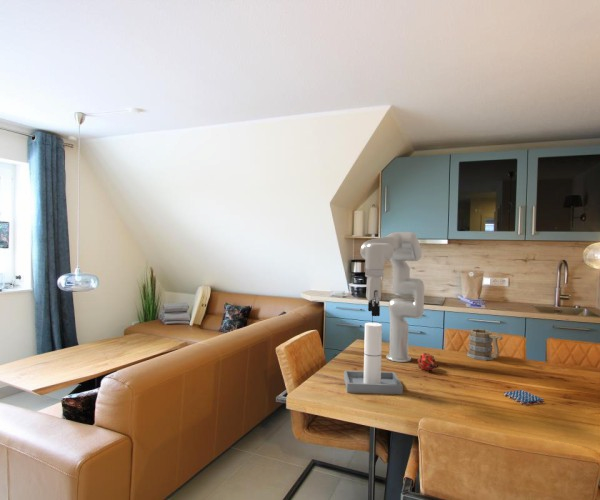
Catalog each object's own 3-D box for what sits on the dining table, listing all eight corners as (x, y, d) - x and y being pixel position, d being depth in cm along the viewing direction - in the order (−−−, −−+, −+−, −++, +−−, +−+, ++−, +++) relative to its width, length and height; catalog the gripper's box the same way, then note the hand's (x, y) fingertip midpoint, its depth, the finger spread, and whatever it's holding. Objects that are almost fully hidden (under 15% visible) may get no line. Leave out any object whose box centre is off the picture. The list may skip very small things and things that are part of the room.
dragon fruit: (423, 368, 190) (432, 380, 179) (410, 359, 189) (419, 370, 177) (434, 355, 190) (444, 367, 178) (421, 346, 188) (431, 356, 177)
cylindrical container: (361, 384, 160) (362, 324, 160) (366, 379, 167) (367, 321, 166) (377, 387, 157) (379, 326, 157) (382, 382, 163) (384, 323, 163)
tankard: (462, 354, 211) (463, 327, 211) (481, 352, 215) (481, 326, 215) (490, 365, 192) (491, 335, 192) (510, 363, 196) (511, 334, 196)
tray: (344, 378, 170) (344, 370, 170) (394, 379, 169) (394, 372, 169) (347, 392, 154) (347, 383, 154) (402, 394, 153) (402, 385, 153)
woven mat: (524, 407, 144) (524, 402, 144) (502, 396, 154) (502, 391, 154) (546, 404, 147) (546, 399, 147) (522, 394, 157) (523, 389, 157)
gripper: (362, 271, 170) (362, 309, 170) (368, 275, 152) (367, 317, 153) (379, 271, 169) (379, 309, 170) (387, 275, 152) (386, 318, 153)
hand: (373, 313), depth 162 cm, fingers open, 9 cm apart
